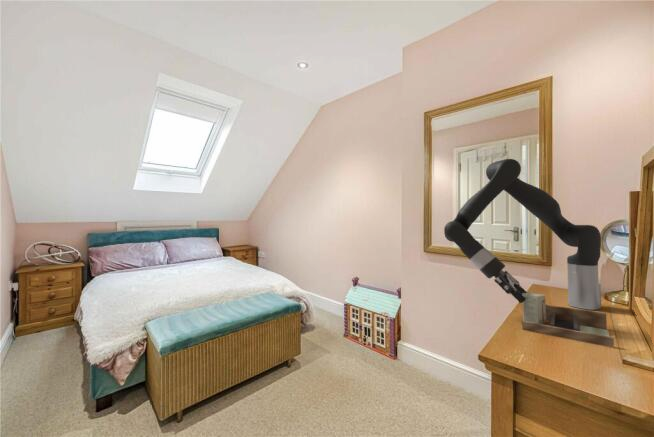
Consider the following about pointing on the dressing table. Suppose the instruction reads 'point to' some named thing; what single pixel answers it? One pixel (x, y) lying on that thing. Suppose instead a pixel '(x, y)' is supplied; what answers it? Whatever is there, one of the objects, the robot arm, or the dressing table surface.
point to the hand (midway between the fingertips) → (525, 298)
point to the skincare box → (534, 308)
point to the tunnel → (574, 325)
